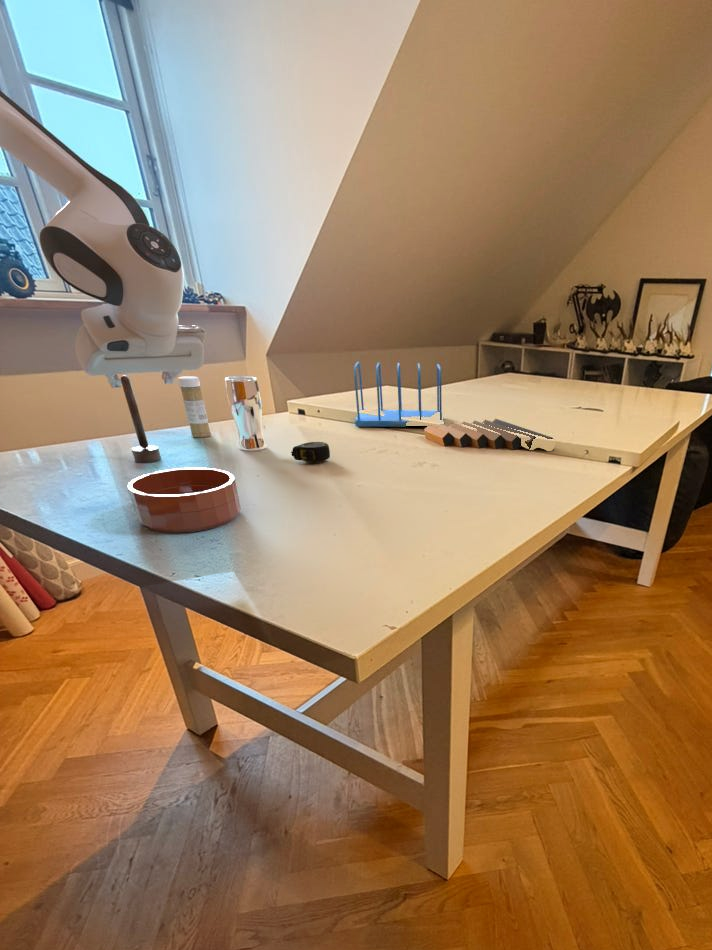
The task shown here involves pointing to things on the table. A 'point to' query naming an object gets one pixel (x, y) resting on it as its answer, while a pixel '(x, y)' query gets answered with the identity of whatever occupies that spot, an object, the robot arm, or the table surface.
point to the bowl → (185, 499)
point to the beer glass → (246, 411)
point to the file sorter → (394, 416)
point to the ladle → (139, 428)
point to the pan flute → (480, 435)
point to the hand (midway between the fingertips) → (141, 382)
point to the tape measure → (311, 452)
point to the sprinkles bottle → (194, 406)
